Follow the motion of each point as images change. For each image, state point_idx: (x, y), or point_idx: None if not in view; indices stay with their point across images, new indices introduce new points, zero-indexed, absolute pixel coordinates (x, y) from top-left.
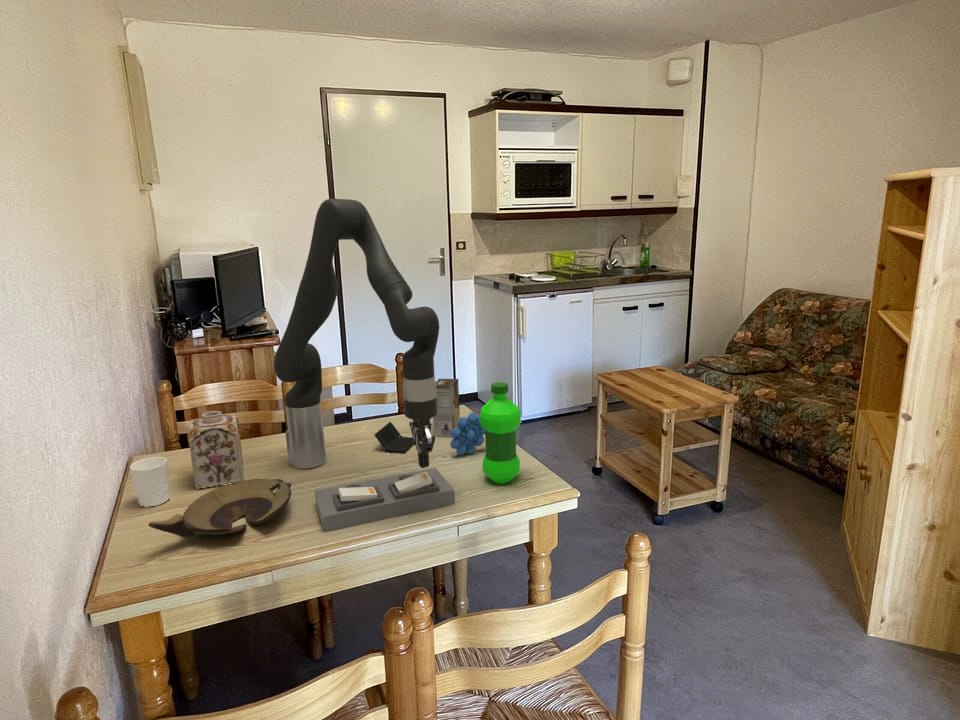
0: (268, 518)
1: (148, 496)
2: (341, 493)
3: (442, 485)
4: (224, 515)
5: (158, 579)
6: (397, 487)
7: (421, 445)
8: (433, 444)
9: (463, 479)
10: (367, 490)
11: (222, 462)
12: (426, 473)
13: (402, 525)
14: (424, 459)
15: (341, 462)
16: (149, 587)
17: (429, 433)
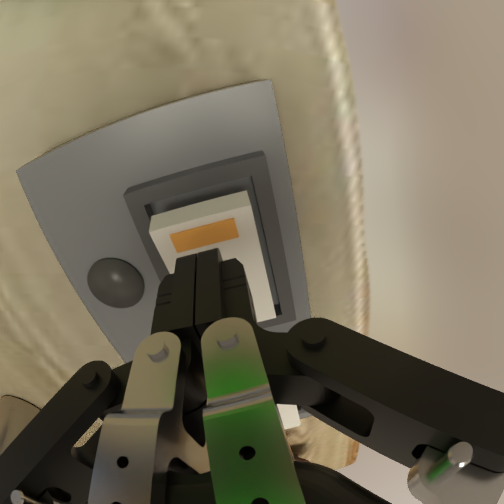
0: (296, 454)
1: None
2: (286, 428)
3: (204, 131)
4: None
5: (343, 456)
6: None
7: (357, 435)
8: (453, 376)
9: (46, 48)
10: None
11: None
12: (174, 229)
13: (353, 259)
14: (253, 310)
15: (6, 378)
16: (353, 454)
17: (497, 499)
